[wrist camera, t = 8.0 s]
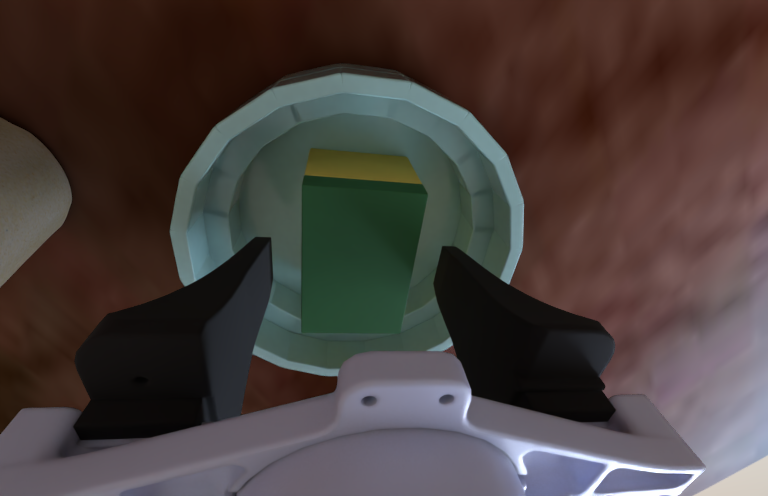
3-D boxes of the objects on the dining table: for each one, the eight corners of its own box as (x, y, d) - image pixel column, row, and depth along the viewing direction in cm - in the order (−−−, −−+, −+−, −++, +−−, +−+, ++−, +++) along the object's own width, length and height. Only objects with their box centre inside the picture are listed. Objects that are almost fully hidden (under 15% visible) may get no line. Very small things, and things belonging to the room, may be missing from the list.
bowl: (452, 318, 23) (475, 374, 19) (225, 315, 21) (200, 378, 17) (522, 84, 16) (579, 102, 12) (186, 41, 14) (128, 46, 10)
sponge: (388, 276, 20) (400, 334, 16) (308, 274, 19) (301, 333, 16) (407, 156, 17) (428, 193, 13) (310, 147, 16) (301, 184, 12)
